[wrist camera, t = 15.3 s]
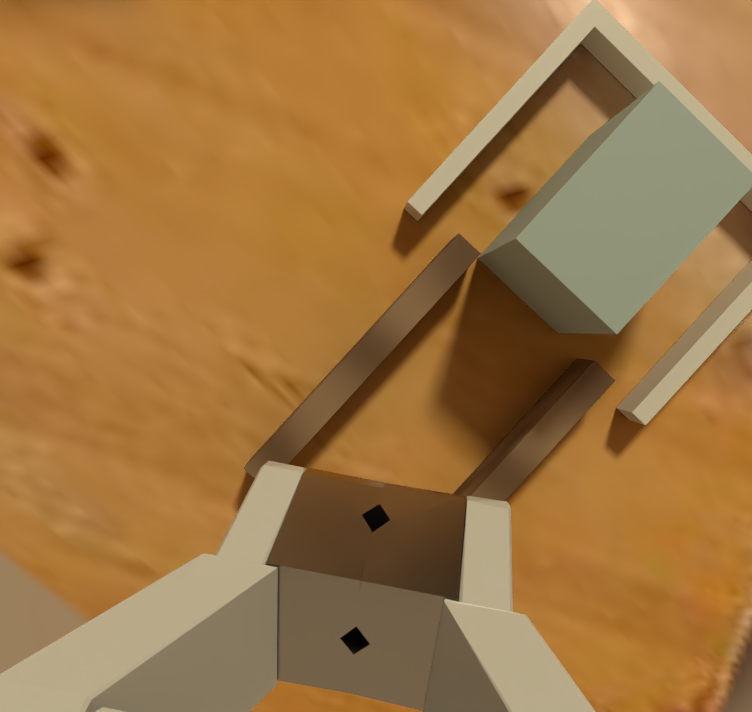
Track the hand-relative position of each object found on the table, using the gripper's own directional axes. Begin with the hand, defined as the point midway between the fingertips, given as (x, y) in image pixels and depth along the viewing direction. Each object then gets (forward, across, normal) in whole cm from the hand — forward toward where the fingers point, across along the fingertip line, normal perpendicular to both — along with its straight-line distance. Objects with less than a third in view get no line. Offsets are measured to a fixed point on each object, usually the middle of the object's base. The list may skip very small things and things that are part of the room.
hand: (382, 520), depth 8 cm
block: (+30, +6, -5) cm, 31 cm away
